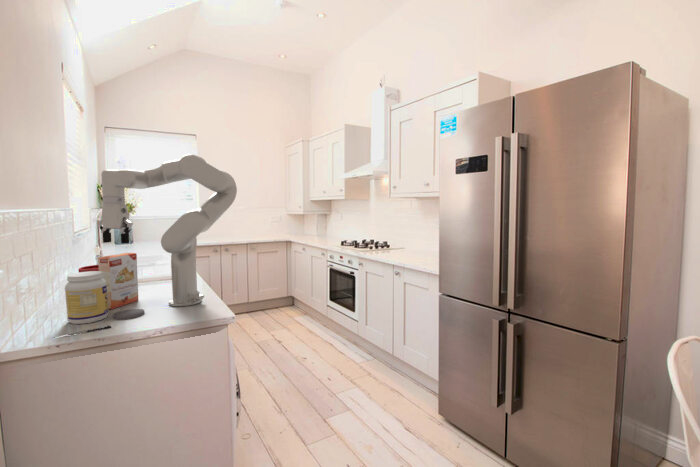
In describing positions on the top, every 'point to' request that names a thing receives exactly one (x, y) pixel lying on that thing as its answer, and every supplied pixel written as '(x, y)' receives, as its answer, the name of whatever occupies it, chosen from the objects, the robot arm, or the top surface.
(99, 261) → the cracker box
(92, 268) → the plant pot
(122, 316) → the coaster
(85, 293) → the supplement tub
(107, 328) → the chef's knife
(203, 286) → the top surface
